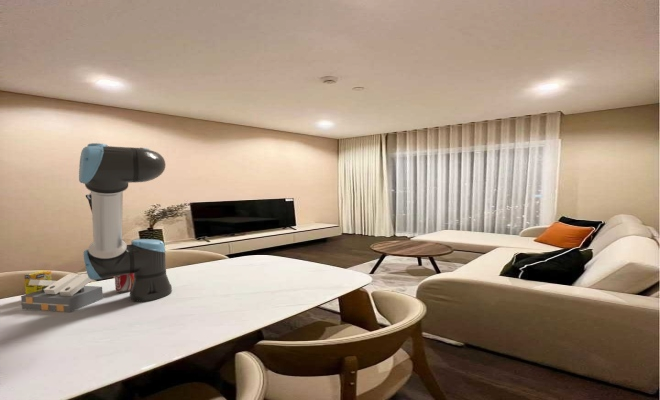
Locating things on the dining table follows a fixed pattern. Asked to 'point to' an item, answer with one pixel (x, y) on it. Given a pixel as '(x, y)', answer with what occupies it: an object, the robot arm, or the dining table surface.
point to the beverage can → (124, 282)
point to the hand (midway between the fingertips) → (103, 230)
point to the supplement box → (34, 276)
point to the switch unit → (61, 299)
